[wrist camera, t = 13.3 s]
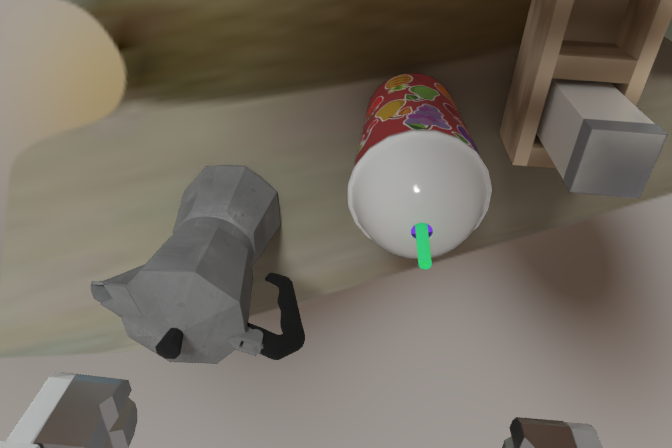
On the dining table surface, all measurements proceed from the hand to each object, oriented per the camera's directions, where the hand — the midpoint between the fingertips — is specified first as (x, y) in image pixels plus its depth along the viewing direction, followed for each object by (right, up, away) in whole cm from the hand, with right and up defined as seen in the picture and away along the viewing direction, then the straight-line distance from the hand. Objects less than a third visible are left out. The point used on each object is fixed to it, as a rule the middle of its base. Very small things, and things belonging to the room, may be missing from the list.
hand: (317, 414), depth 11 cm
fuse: (+17, +14, +27) cm, 35 cm away
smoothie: (+6, +13, +31) cm, 34 cm away
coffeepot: (-8, +5, +37) cm, 39 cm away
